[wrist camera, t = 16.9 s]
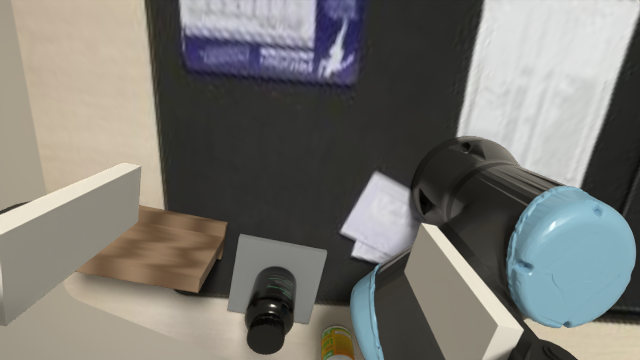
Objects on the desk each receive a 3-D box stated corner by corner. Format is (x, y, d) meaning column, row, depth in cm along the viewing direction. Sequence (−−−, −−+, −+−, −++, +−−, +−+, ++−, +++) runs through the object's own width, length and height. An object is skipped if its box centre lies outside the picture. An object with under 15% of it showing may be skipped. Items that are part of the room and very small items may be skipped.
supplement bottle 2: (328, 320, 55) (331, 368, 46) (356, 329, 56) (364, 379, 47) (316, 343, 57) (316, 394, 47) (343, 352, 57) (349, 404, 48)
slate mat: (326, 250, 51) (327, 253, 50) (308, 319, 55) (308, 324, 54) (240, 233, 50) (239, 236, 49) (228, 306, 54) (227, 310, 53)
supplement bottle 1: (280, 307, 53) (271, 369, 41) (246, 285, 51) (227, 344, 40) (305, 279, 51) (303, 336, 40) (271, 256, 50) (259, 308, 38)
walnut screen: (227, 222, 49) (201, 265, 38) (222, 255, 51) (196, 306, 39) (95, 196, 48) (26, 233, 36) (95, 231, 49) (28, 277, 38)
